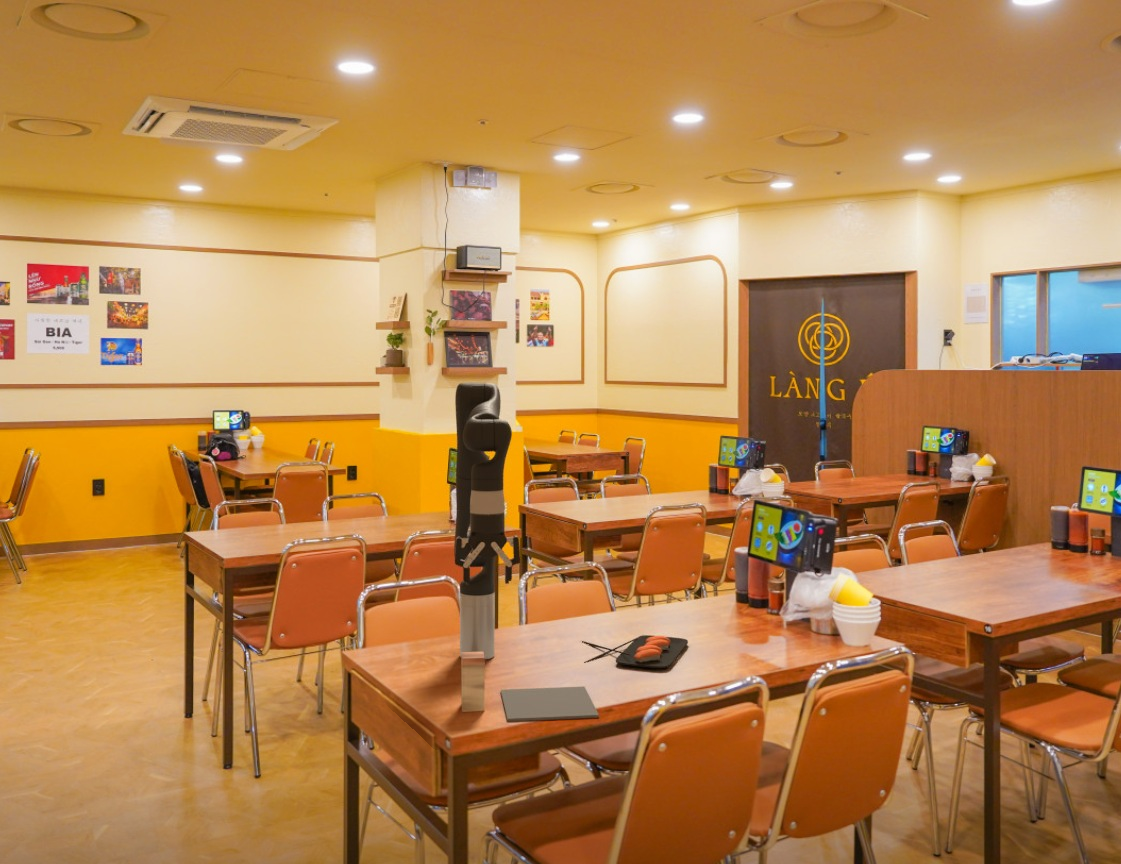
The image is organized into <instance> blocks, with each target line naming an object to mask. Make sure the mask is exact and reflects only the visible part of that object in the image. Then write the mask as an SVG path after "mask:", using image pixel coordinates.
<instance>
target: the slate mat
mask: <svg viewBox="0 0 1121 864" xmlns="http://www.w3.org/2000/svg"><path fill="white" fill-rule="evenodd" d="M500 695H501V700H502V703H503V708H504V713H505V716H506V717H505V718H506V721H507V722H527V721H531V722H532V721H547V720H548V721H550V720H575V719H595V718H596V719H597V718H600V715H599V712H598V711H597V708H596V707H595V704H594V703H593V701H592V699H591V697H590V695H589V692H588V690H587V689H586V687H585V686H566V687H565V686H560V687H559V686H558V687H540V688H539V687H537V688H534V687H533V688H513V689H512V688H511V689H509V688H508V689H500Z"/></svg>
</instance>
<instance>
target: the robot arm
mask: <svg viewBox="0 0 1121 864" xmlns="http://www.w3.org/2000/svg"><path fill="white" fill-rule="evenodd" d="M454 397H455V401H454V403H455V404H454V405H455V407H454V408H455V422H456V425H455V426H456V463H455V465H456V466H455V467H456V468H455V493H456V494H455V496H456V497H455V500H456V501H455V502H456V503H455V504H456V515H455V518H456V519H455V532H454V545H453V546H454V547H453V550H454V551H453V552H454V554H453V555H454V564H455V566H458V567H460V568H462V581H461V582H460V584H459V657H460V658H461V652H484V657H485V661H486V660H489V659H492V658H494V657H495V652H496V651H495V647H496V646H495V644H496V642H495V640H496V638H495V635H496V633H495V630H496V629H495V628H496V626H495V625H496V624H495V622H496V621H495V620H496V619H495V618H496V617H495V615H496V614H495V613H496V612H495V610H496V608H495V603H496V602H495V601H496V600H495V599H496V598H495V595H496V594H495V593H496V592H495V591H496V589H495V588H496V587H495V586H496V585H495V569H496V568H495V566H496V565H495V564H496V556H499V558H500V559H501V560H502V561H503V563H504V564H505V565H504V584H506V585H508V584H509V583H510V582H512V581H513V566H515V565H519V564H520V563H521V553H520V552H521V551H520V539H519V537H518V535H516V534H515V535H513V536H506V533H505V529H506V528H505V520H506V519H505V514H506V513H505V510H506V505H505V503H506V502H505V493H504V472H505V471H504V470H505V462H506V458H507V454H508V451H509V447H510V444H511V440H512V436H513V435H512V434H513V431H512V430H513V429H512V427H511V425H510V423H509V422H508V421H506V420H505V419H500V415H501V401H502V400H501V392H500V389H499V387H498V385H497V384H496V383H492V382H461V383H459V384H458V385H457V387H456V389H455V396H454ZM486 452H494V455H493V457H492V458H490V459H489V457H488V455H487V454H486ZM507 543H509V545H510V547H512V554H513V557H512V558H511V559H510V558H509V556H508V555H507V554H506V553H505V552H504V550H503V548H504V547H505V545H506V544H507ZM471 568H482V569H481V570H480V571H479V572H478V573H476V574H475V575H473V576H470V575H471V573H470V572H471V570H470V569H471Z"/></svg>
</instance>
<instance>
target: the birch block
mask: <svg viewBox="0 0 1121 864" xmlns="http://www.w3.org/2000/svg"><path fill="white" fill-rule="evenodd" d="M460 659H461V660H460V662H461V663H460V665H461V669H460V670H461V671H460V672H461V673H460V674H461V680H460V681H461V689H460V690H461V693H460V695H461V697H460V698H461V699H460V700H461V702H460V703H461V712H465V713H467V712H469V713H470V712H485V709H486V707H485V706H486V705H485V704H486V703H485V702H486V701H485V699H486V697H485V696H486V695H485V694H486V693H485V691H486V687H485V685H486V682H485V680H486V678H485V677H486V672H485V671H486V669H485V668H486V667H485V666H486V663H485V661H486V660H485V657H484V652H461V657H460Z"/></svg>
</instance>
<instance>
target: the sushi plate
mask: <svg viewBox="0 0 1121 864" xmlns="http://www.w3.org/2000/svg"><path fill="white" fill-rule="evenodd" d="M581 641H582V642H581V643H583V642H584V643H583V644H585V643H586V644H585V645H587V644H589V645H588V646H590V645H591V646H590V647H594V648H599V649H603V650H606V652H603V653H601V654H599V655H597V656H594V657H592V658H589V659H588V660H585V661H584V662H583V663H584V664H586V662H587V663H589V661H590V662H591V660H592V661H595V660H598V659H600V658H602V657H604V656H606V655H608V654H610V653H612V652H614V653H619V655H618V656H617V657H616V658H615V663H616V664H618V665H623V666H632V667H637V668H649V669H666V668H668V667H670V666H672V664H673V663H674V661H676V659H677V658H678V657H679V655H680V654H681V653H682V652H683V650H684V649H685V648H686V646H688V643H689V641H688V639H685V638H681V637H672V636H664V635H649V634H648V635H647V634H646V635H645V634H642V635H639V636H638V637H636V638H633V639H632V640H629V641H627V642H625V643H623V644H621V645H619V646H617V647H614V648H608V647H605V646H601V645H597V644H595V643H591V642H587V641H584V640H581ZM628 644H629V645H628ZM626 645H628V646H627V647H626V648H625V649H624V650H623V651H619V650H618V649H620V648H622V647H624V646H626ZM597 658H598V659H597ZM594 659H595V660H594Z"/></svg>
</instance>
